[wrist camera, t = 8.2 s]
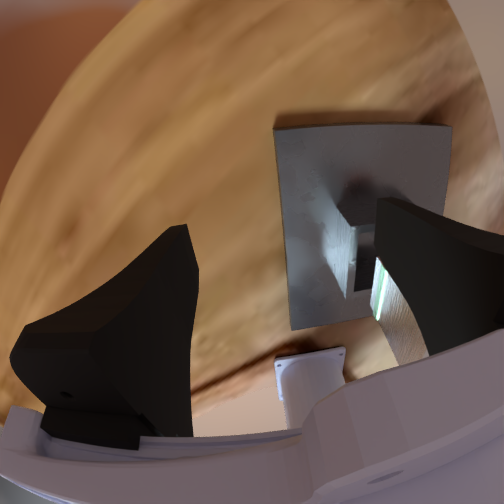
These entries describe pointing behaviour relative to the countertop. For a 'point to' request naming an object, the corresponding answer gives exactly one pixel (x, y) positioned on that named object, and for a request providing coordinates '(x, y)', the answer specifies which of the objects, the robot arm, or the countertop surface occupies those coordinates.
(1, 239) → the countertop surface
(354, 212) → the jack base
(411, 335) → the grooved grey block
